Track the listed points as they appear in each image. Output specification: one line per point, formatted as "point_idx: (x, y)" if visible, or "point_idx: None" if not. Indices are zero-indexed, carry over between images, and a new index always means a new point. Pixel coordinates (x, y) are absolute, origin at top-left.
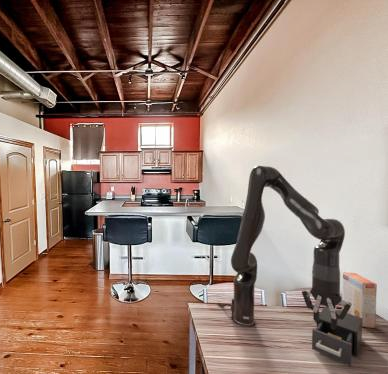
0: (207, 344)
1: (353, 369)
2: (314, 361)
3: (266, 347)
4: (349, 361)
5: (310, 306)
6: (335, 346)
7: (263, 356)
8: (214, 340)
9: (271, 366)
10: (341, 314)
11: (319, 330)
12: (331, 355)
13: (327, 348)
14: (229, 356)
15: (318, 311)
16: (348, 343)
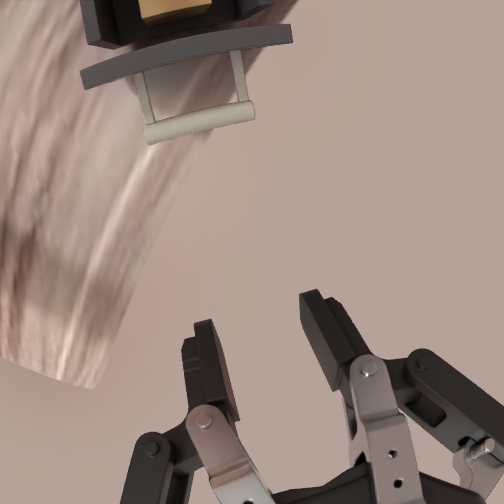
0: (22, 360)
1: None
2: None
3: (39, 240)
4: (258, 47)
5: (192, 472)
6: (209, 54)
7: (74, 283)
8: (7, 341)
9: (115, 294)
10: (419, 415)
11: (101, 18)
12: (188, 59)
13: (199, 128)
14: (63, 350)
15: (226, 409)
16: (280, 38)
